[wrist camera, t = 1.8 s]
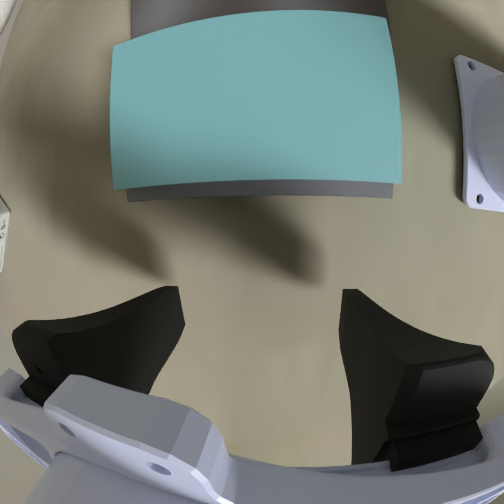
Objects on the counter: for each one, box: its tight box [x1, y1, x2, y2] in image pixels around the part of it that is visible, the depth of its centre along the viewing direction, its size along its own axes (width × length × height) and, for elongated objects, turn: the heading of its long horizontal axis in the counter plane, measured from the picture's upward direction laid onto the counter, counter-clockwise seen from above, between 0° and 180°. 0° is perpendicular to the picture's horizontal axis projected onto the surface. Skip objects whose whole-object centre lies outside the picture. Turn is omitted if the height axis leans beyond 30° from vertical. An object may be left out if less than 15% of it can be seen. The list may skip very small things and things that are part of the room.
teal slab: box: [110, 10, 402, 202], centre depth 9 cm, size 10×7×4 cm, turn 92°
